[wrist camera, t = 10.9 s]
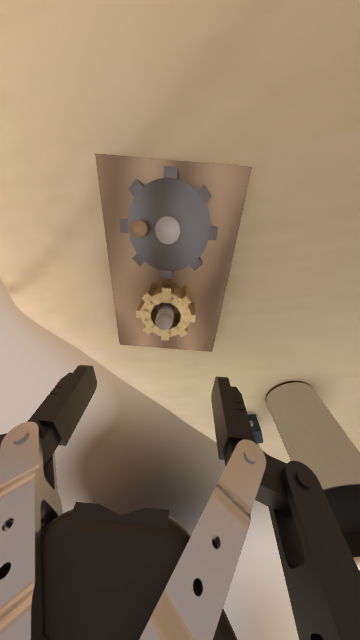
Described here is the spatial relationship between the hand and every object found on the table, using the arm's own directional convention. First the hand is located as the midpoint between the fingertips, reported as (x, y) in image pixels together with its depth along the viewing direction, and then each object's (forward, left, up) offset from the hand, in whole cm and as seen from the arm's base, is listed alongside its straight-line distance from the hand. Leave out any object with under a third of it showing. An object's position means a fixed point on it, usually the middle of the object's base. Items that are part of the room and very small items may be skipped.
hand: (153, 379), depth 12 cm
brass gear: (0, 0, -11) cm, 11 cm away
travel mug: (-22, +17, -13) cm, 30 cm away
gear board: (0, -3, -13) cm, 13 cm away
